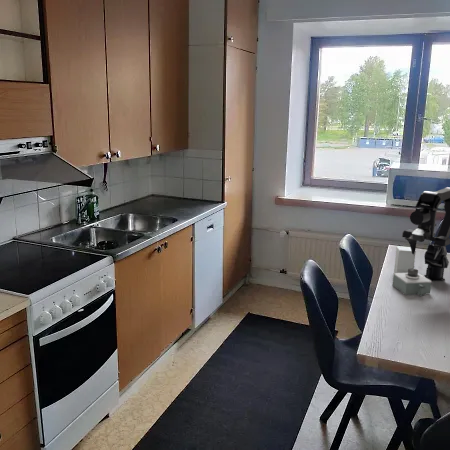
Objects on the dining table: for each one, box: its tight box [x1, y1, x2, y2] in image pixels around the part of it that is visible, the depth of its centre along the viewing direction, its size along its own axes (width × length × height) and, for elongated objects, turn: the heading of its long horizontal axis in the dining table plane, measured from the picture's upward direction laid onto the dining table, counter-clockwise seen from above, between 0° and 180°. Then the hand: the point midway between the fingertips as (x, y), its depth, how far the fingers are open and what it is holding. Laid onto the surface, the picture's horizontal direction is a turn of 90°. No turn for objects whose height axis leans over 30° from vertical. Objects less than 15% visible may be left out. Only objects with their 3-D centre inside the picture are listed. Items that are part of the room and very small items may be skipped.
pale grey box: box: [391, 272, 433, 297], centre depth 198 cm, size 11×14×6 cm
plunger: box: [405, 268, 420, 279], centre depth 199 cm, size 8×8×8 cm
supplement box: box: [393, 245, 417, 274], centre depth 216 cm, size 7×7×13 cm
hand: (423, 256), depth 202 cm, fingers open, 9 cm apart
